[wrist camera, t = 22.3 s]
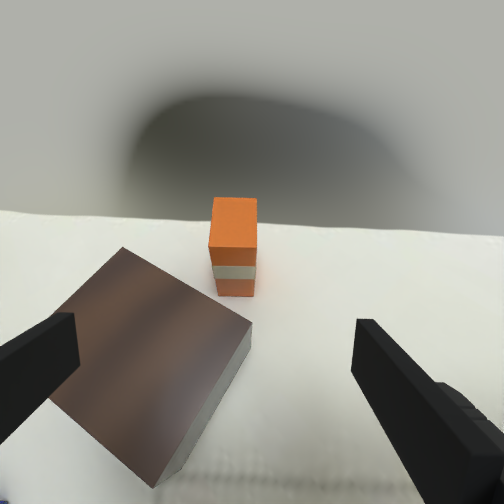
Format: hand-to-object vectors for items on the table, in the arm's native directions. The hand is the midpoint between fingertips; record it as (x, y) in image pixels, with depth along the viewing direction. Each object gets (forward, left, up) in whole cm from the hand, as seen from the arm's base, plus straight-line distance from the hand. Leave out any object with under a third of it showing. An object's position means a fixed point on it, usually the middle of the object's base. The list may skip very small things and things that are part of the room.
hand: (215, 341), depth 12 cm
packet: (+8, -13, -22) cm, 27 cm away
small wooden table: (+9, +2, -22) cm, 24 cm away
